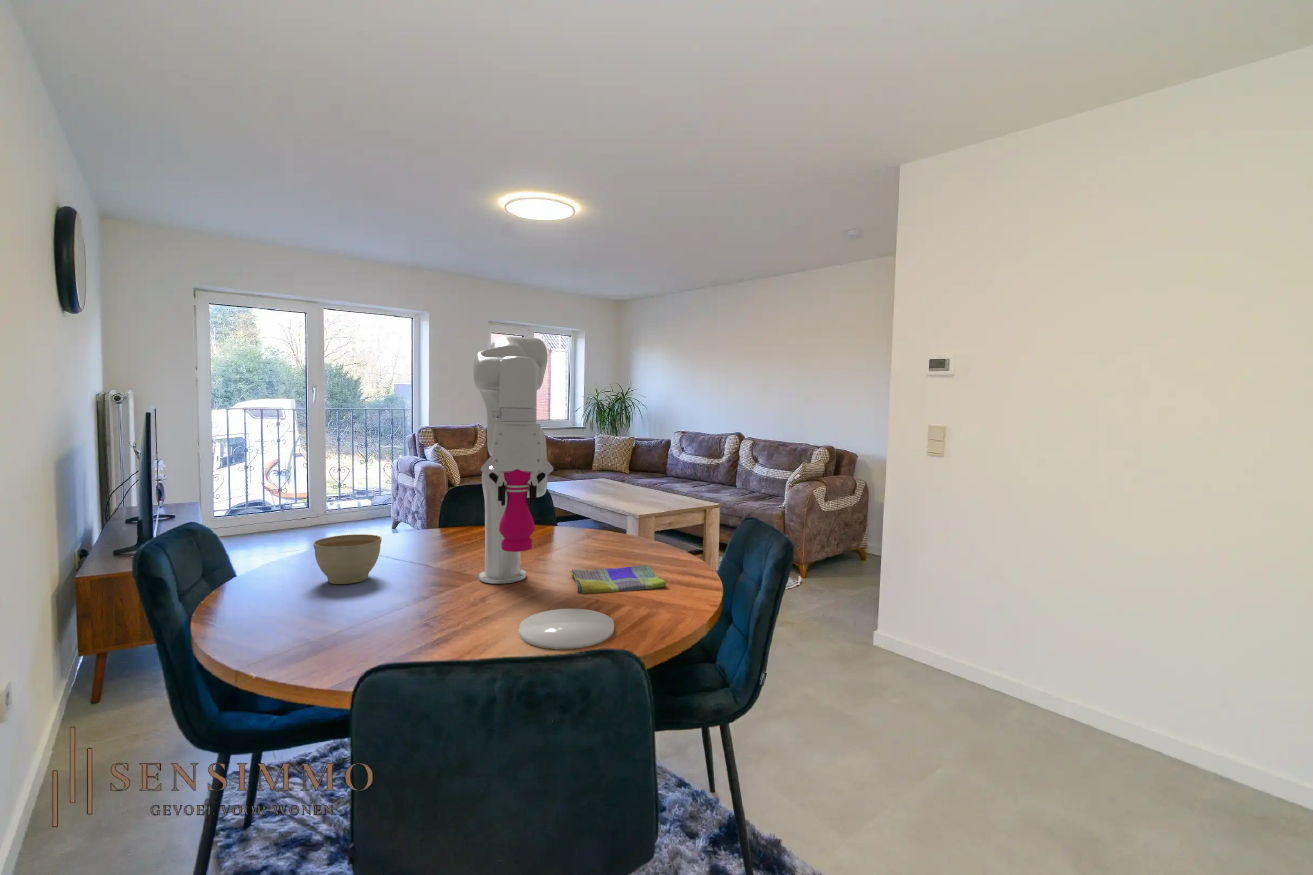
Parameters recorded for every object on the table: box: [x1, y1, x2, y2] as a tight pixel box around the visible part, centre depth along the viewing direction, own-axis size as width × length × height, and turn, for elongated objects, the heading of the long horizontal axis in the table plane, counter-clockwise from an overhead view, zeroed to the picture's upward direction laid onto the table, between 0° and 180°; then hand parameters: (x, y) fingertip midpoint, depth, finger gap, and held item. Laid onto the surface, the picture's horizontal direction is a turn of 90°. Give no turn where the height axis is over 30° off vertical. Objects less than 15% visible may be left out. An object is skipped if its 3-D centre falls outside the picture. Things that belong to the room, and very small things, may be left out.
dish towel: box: [569, 564, 667, 595], centre depth 161 cm, size 18×24×3 cm
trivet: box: [518, 608, 615, 650], centre depth 126 cm, size 20×20×1 cm
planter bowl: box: [313, 533, 383, 585], centre depth 158 cm, size 16×16×11 cm
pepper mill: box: [499, 469, 536, 552], centre depth 123 cm, size 7×7×20 cm
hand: (517, 503), depth 123 cm, fingers closed on pepper mill, 5 cm apart
